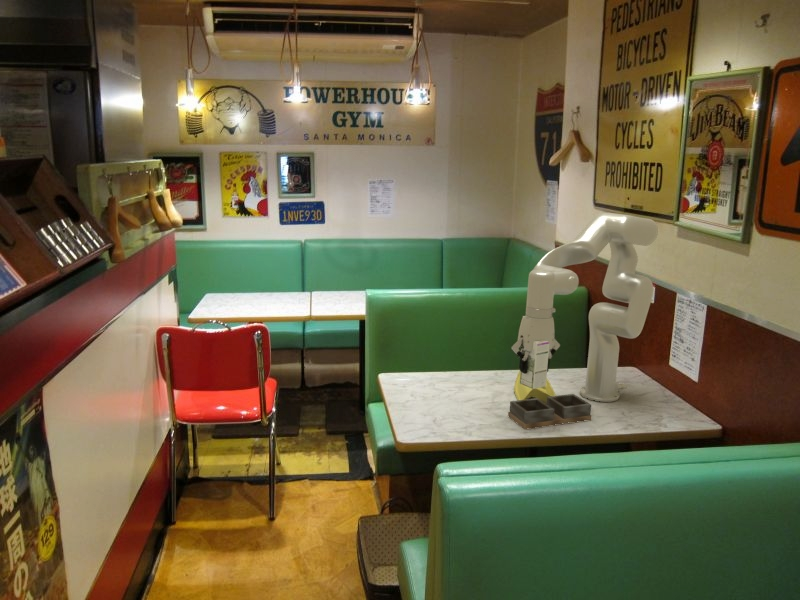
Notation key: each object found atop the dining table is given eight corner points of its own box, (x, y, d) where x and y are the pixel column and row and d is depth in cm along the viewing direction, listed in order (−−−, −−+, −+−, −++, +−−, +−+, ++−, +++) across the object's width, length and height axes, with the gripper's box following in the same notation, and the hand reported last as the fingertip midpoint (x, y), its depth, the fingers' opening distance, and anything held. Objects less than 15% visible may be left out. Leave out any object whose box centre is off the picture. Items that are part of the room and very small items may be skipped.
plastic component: (557, 399, 218) (530, 386, 216) (545, 417, 220) (519, 404, 218) (545, 374, 237) (520, 361, 235) (534, 391, 239) (510, 379, 237)
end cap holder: (572, 408, 216) (573, 393, 215) (591, 420, 207) (592, 404, 206) (508, 416, 208) (509, 401, 207) (524, 429, 199) (526, 413, 198)
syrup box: (546, 386, 202) (551, 339, 199) (532, 389, 199) (536, 341, 196) (532, 380, 207) (537, 334, 204) (518, 383, 203) (522, 336, 200)
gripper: (557, 308, 204) (552, 365, 208) (506, 311, 198) (501, 369, 202) (571, 314, 198) (566, 373, 201) (519, 317, 192) (514, 377, 195)
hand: (533, 370), depth 202 cm, fingers closed on syrup box, 6 cm apart
